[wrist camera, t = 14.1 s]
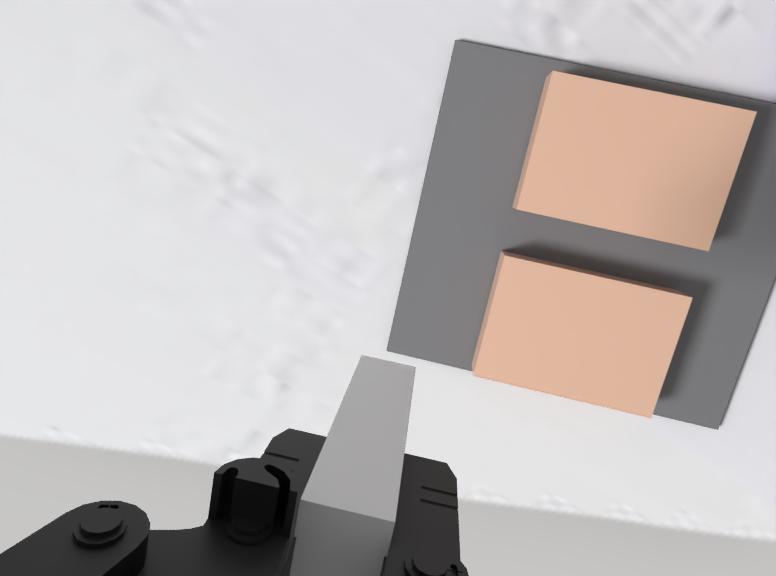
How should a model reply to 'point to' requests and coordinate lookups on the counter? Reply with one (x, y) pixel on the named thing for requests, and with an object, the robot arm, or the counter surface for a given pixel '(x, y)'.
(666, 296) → the tile
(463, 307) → the mat
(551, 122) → the tile
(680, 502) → the counter surface
